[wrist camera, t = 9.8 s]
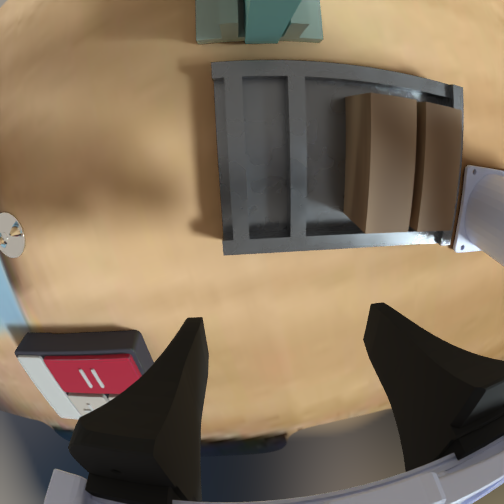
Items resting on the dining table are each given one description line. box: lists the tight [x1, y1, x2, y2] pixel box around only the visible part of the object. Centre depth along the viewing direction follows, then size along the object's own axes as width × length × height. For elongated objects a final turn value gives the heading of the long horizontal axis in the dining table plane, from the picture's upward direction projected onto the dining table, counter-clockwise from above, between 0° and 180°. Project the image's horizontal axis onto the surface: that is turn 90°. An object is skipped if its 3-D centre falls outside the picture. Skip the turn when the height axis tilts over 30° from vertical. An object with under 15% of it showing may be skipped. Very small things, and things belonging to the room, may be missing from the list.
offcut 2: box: [409, 102, 462, 232], centre depth 17 cm, size 3×8×4 cm, turn 2°
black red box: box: [15, 330, 154, 420], centre depth 26 cm, size 11×4×15 cm
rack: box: [211, 60, 463, 255], centre depth 18 cm, size 17×12×3 cm
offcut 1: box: [343, 93, 417, 234], centre depth 17 cm, size 3×8×4 cm, turn 2°
